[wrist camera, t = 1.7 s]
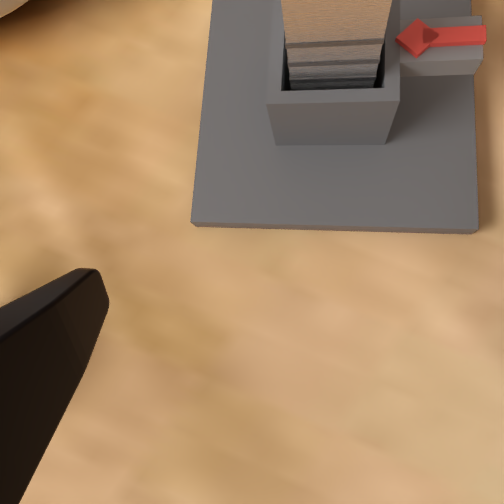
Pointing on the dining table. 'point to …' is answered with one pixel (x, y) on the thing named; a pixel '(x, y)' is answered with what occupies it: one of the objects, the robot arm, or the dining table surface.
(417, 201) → the jack stand base
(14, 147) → the dining table surface
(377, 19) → the block
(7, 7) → the serving bowl
